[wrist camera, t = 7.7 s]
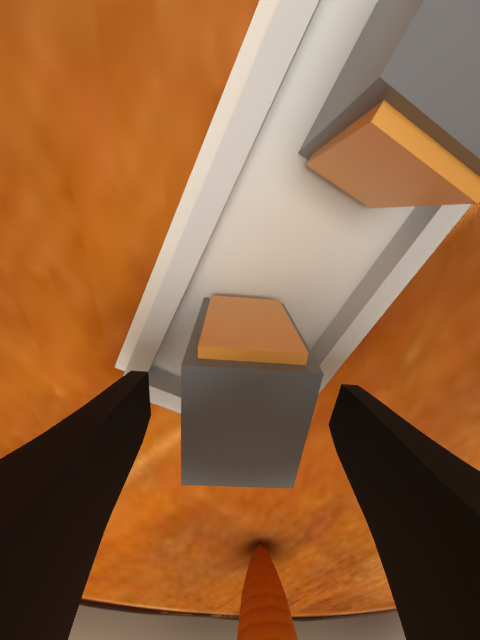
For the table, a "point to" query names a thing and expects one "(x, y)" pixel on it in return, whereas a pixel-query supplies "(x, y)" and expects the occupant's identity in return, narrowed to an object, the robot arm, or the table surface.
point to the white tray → (279, 208)
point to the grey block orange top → (245, 395)
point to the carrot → (264, 602)
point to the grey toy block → (405, 108)
